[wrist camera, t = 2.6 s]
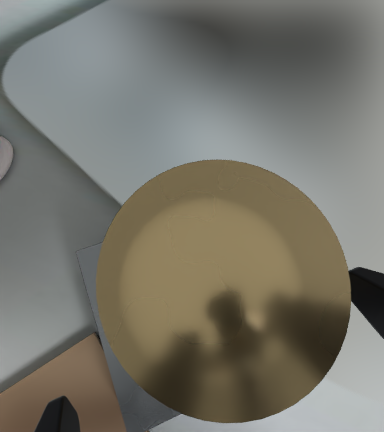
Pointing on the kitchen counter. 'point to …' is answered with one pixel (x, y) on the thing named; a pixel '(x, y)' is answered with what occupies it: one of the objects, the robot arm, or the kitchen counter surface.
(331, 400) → the kitchen counter surface
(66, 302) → the kitchen counter surface
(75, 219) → the kitchen counter surface
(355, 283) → the robot arm
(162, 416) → the housing
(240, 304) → the gold metal cylinder
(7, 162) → the pacifier
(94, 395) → the mat
